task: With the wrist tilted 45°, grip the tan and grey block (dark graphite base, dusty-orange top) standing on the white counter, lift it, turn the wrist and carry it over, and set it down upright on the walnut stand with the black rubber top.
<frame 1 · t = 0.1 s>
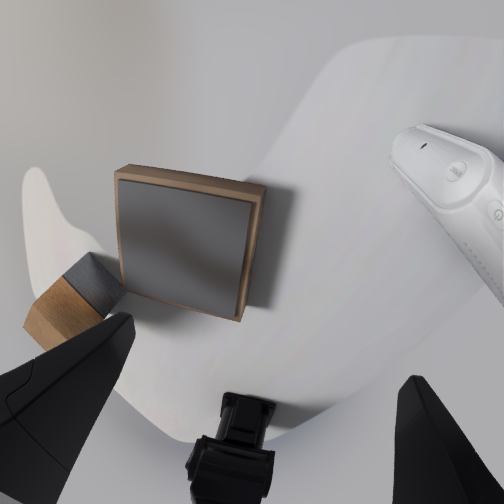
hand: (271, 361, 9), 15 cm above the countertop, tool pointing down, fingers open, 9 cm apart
photo printer: (441, 182, 19), on the countertop
tan and grey block: (97, 283, 30), on the countertop
walnut stand: (188, 238, 25), on the countertop
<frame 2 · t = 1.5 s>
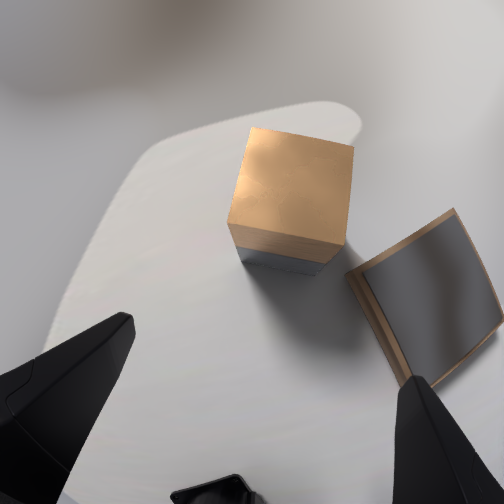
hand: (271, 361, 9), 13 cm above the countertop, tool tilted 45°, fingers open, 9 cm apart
tan and grey block: (284, 233, 24), on the countertop
walnut stand: (429, 301, 22), on the countertop
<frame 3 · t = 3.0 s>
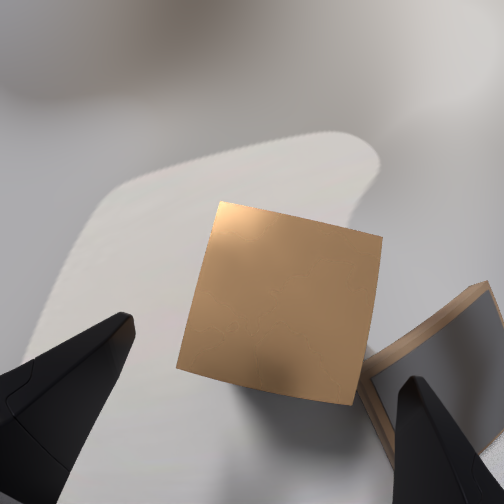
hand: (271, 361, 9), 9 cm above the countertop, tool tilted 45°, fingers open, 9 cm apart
tan and grey block: (274, 317, 18), on the countertop
walnut stand: (445, 393, 16), on the countertop
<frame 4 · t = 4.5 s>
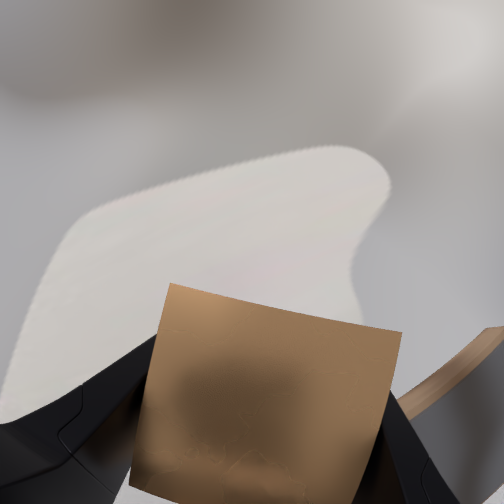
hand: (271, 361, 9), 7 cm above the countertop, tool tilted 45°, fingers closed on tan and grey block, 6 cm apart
tan and grey block: (261, 375, 15), on the countertop, touching gripper
walnut stand: (450, 445, 13), on the countertop
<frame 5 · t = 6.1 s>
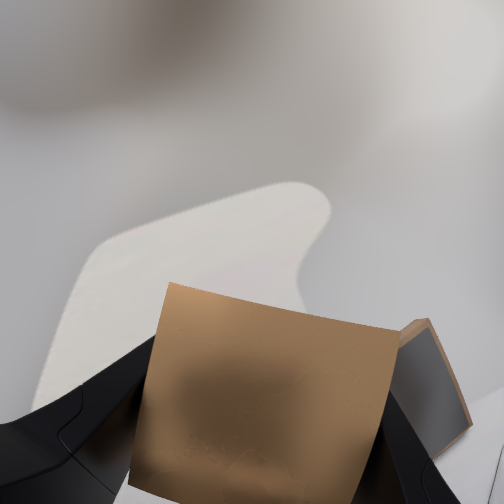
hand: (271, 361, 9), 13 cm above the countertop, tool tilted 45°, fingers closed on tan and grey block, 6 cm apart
tan and grey block: (261, 375, 15), point 7 cm above the countertop, touching gripper
walnut stand: (389, 413, 20), on the countertop
when the fingers open (10 cm above the countertop, at t = 8.0 s): tan and grey block drops 1 cm, resting on walnut stand.
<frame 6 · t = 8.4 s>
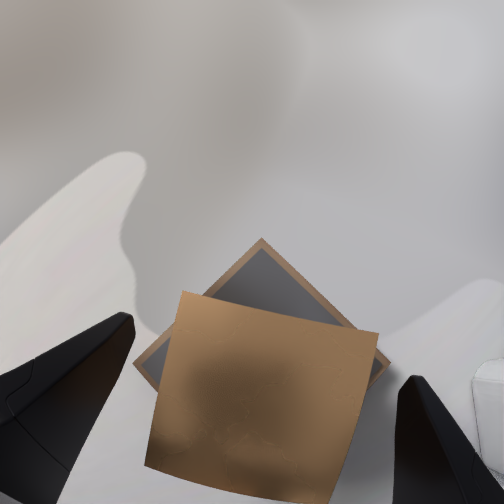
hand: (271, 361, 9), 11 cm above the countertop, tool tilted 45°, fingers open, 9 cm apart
photo printer: (489, 412, 17), on the countertop
tan and grey block: (260, 371, 16), point 2 cm above the countertop, touching walnut stand
walnut stand: (261, 366, 19), on the countertop
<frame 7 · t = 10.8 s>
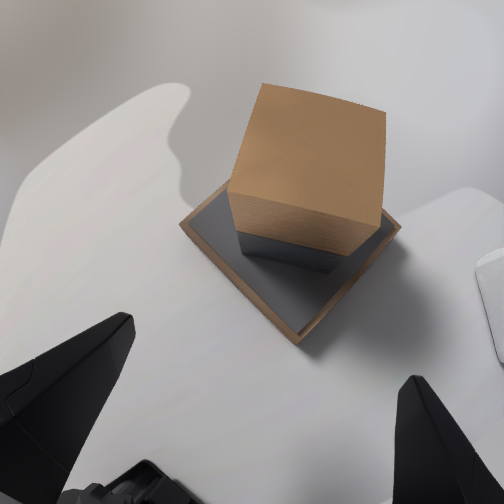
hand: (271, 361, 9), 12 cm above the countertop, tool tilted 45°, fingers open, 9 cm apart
photo printer: (496, 308, 20), on the countertop
tan and grey block: (294, 222, 20), point 2 cm above the countertop, touching walnut stand
walnut stand: (291, 234, 22), on the countertop
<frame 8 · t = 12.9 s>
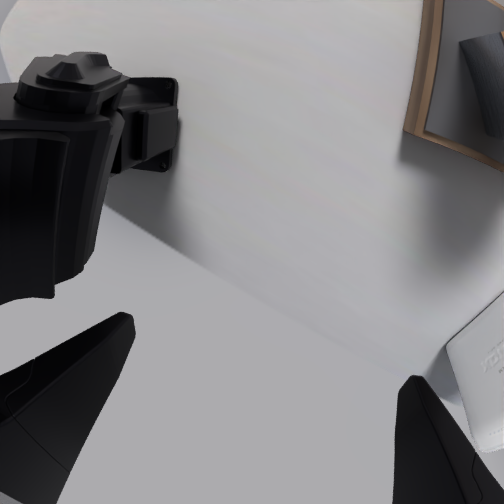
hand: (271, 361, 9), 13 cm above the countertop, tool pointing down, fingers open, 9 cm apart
photo printer: (487, 318, 21), on the countertop
walnut stand: (488, 82, 13), on the countertop
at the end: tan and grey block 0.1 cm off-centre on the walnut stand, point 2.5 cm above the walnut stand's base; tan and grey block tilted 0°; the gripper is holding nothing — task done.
